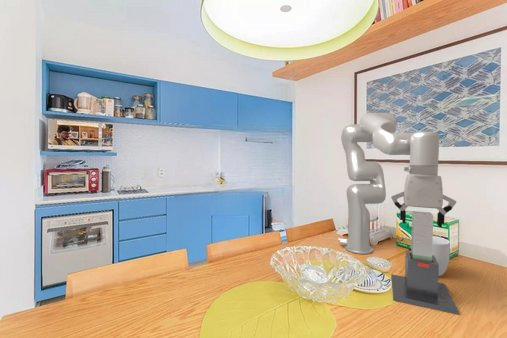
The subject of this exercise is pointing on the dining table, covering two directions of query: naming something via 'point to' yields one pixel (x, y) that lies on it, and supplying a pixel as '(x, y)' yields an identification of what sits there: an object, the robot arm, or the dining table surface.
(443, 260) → the mug
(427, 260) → the post
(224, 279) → the dining table surface
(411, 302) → the stand
